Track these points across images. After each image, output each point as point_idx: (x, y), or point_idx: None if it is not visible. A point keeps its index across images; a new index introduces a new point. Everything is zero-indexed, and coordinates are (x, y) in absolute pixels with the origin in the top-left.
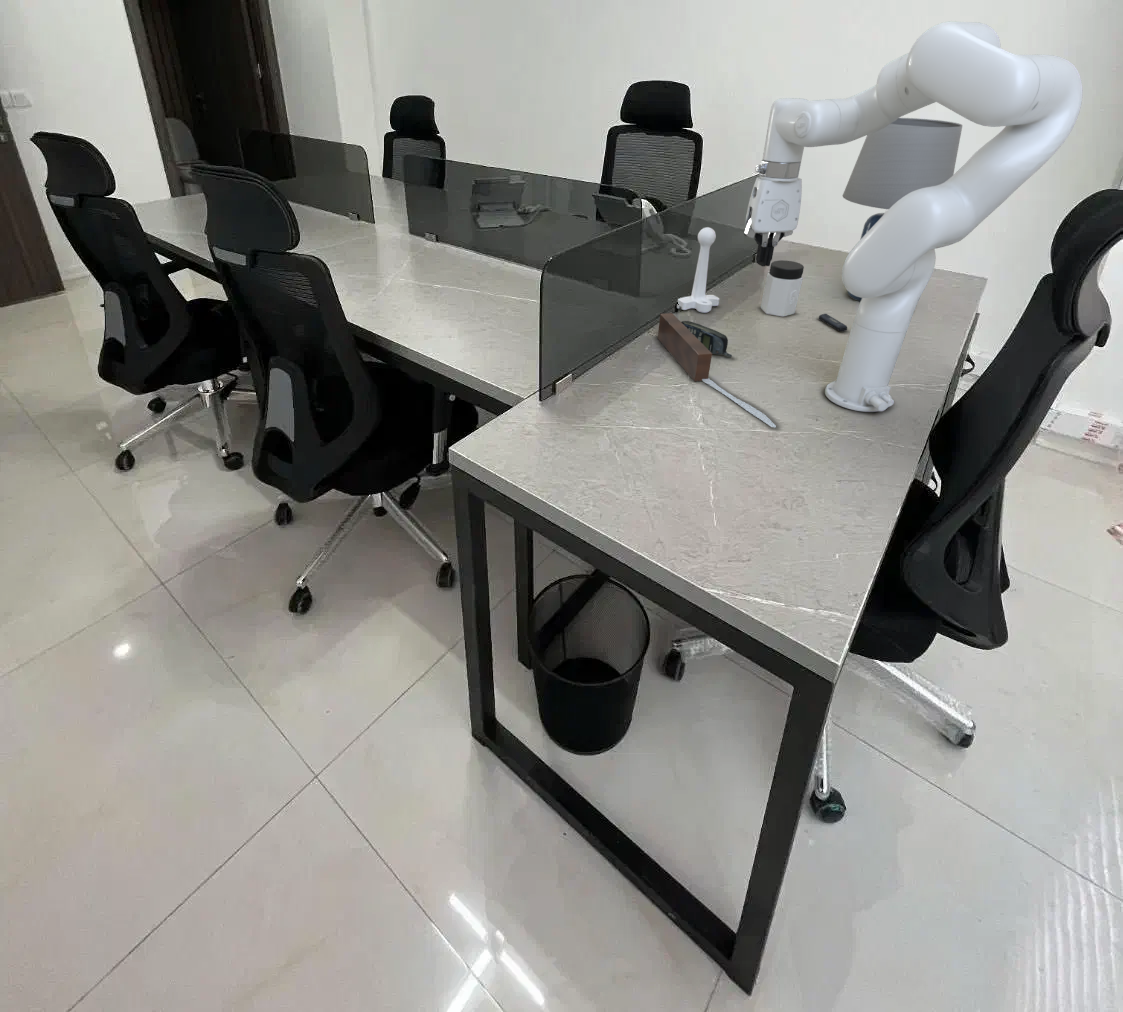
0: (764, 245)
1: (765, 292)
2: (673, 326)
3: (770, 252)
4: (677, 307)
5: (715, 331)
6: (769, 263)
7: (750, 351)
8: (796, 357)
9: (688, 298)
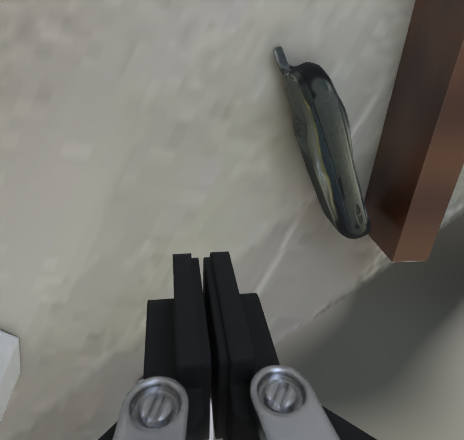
0: (278, 380)
1: (3, 403)
2: (461, 161)
3: (194, 323)
4: None
5: (329, 126)
6: (178, 263)
7: (181, 92)
8: (31, 2)
9: None
